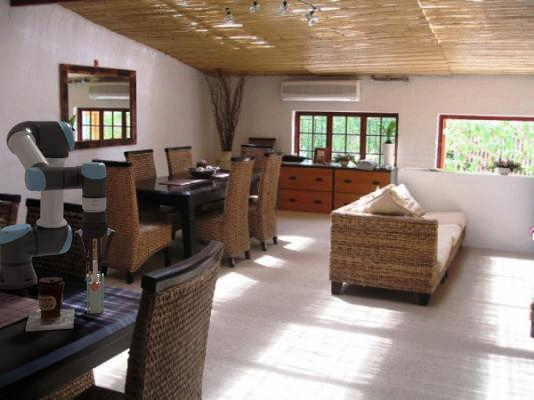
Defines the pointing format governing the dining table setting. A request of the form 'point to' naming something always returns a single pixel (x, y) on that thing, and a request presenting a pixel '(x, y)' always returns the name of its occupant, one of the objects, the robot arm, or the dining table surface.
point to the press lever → (95, 283)
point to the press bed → (50, 321)
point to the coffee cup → (50, 297)
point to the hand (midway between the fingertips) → (95, 280)
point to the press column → (95, 297)
